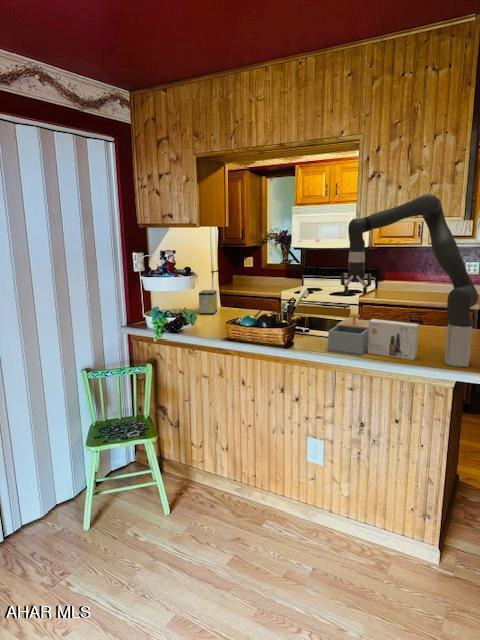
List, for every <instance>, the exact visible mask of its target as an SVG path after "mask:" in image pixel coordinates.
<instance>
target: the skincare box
mask: <svg viewBox="0 0 480 640" xmlns="http://www.w3.org/2000/svg"><path fill="white" fill-rule="evenodd" d="M419 326H420V324H419V323H414V322H413V323H412V322H406V321H405V322H404V321H403V322H402V321H394V320H384V319H378V318H377V319H376V318H371V319H370V321H369V336H368V350H367V354H373V355H378V356H386V357H390V358H398V359H403V360H404V359H405V360H411V361H412V360H413V361H415V359H416V358H417V353H418V352H417V351H418V343H419V342H418V341H419V328H420V327H419Z"/></svg>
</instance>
